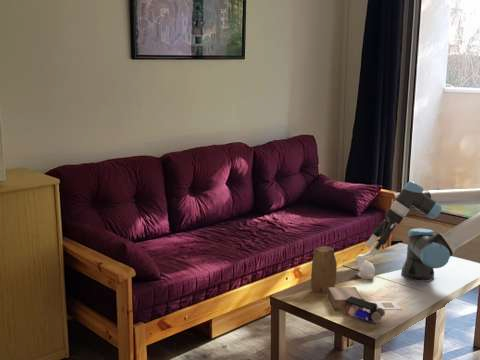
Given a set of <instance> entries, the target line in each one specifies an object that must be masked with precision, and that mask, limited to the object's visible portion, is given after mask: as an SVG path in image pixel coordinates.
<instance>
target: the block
mask: <svg viewBox="0 0 480 360" xmlns="http://www.w3.org/2000/svg"><path fill="white" fill-rule="evenodd" d="M337 265H338V264H337V258H336V256H335V249H334V248H333V247H331V246H326V245H323V246H319V247H317V248H315V249H314V250H313V257H312V262H311V274H310V275H311V277H310V283H311V284H310V289H311V290H312V291H314V292H315V293H316V294H328V287H335V285H336V282H337V272H338V271H337V267H338V266H337Z"/></svg>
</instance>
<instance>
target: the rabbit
mask: <svg viewBox="0 0 480 360" xmlns="http://www.w3.org/2000/svg"><path fill="white" fill-rule="evenodd" d="M370 251H371V249H369V250H368V251H367V252H366V253H364V254H362V253H361V254H358V255H357V256H356V257H355V263H357V269H358V270H359V271H358V272H357V276H358V277H359V278H362V279H364V280H373V279H374V278H375V275H376V274H375V273H376V268H375V267H374V265H373V263H371V262H369V261H368V260H367V258H370V257H374V256H373V255H371V254H370V253H369V252H370Z"/></svg>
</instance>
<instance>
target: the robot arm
mask: <svg viewBox="0 0 480 360" xmlns="http://www.w3.org/2000/svg"><path fill="white" fill-rule="evenodd" d="M391 203H392V204H391V206H390V208H388V209H387V211H386V212H385V213H384V216H385V217H384V218H383V220H382V221H381V222H380V223H379V224H378V225H377V226H376V227H375V228H374V229H373V231H372V232H373V233H372V235H371V236H370V237H369V239H368V241H366V243H365V245H364V246H365V247H366V248H367V249H369V251H370V250H371V251H370V252H369V251H368V252H369V253H370V254H371V255H373V256H372V257H376V255H377V254H378V253H379V251H380V250H381V248H382V247H383V246H384V245H386V244H387V242H388V240H389V239H390V236H391V234H392V233H393V231H394V229H395V228H396V224H397V225H399V224H401V222H402V221H403V219H404V217H406V215H407V214H408V213H409V211H410V210H411V208H412V207H413V208H414V209H416V210H417V211H419V213H422V214H423V215H424V216H426V217H428V218H430V219H435V218H437V217H438V216H439V215H440V213H441V211H442V207H449V206H450V207H451V206H454V207H455V206H472V205H473V206H476V205H479V206H480V187H478V188H461V189H459V188H458V189H440V190H437V189H436V190H434V189H433V190H424V188H423V187H422V186H420V185H419V184H418V183H416V182H414V181H413V180H409V181H408V182H407V183H406V184H405V185H404V186H403V188H402V189H401V191H400V193H399V194H398V196H397V197H396V198H395V200H394V201H392V202H391ZM395 223H396V224H395ZM478 236H480V211H478V212H477V213H475V214H473V215H472V216H470V217H469V218H467V219H465V220H463V221H462V222H461V223H459V224H457V225H455V226H453V227H452V228H451V229H448V231H446V232H444V233H441V232H438V233H435V231H434V230H432V229H428V228H418V227H417V228H412V229H410V230H408V235H407V248H406V258H405V261H404V262H403V266H402V267H401V272H400V273H401V275H402V276H403V277H405V278H407V279H410V280H413V281H419V282H427V281H432V280H434V279H435V270H434V269H440V268H442V267H445V266H446V265H447V264H448V263H449V260H450V258H451V257H453V256H454V254H455V251H456V249H459V248H460V247H462V246H463V245H465V244H466V243H468V242H471V241H472V240H473V239H475V238H476V237H478ZM373 245H374V246H373Z"/></svg>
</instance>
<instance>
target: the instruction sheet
mask: <svg viewBox="0 0 480 360" xmlns="http://www.w3.org/2000/svg"><path fill="white" fill-rule="evenodd" d="M367 301H368V302H371V303H374V304H377V308H382V309H383V310H384V311H400V310H402V308H401V307H400V305H399V304H398V303H397V301H395V300H376V301H375V300H371V301H370V300H367ZM365 311H369V310H368V309H365Z"/></svg>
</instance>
